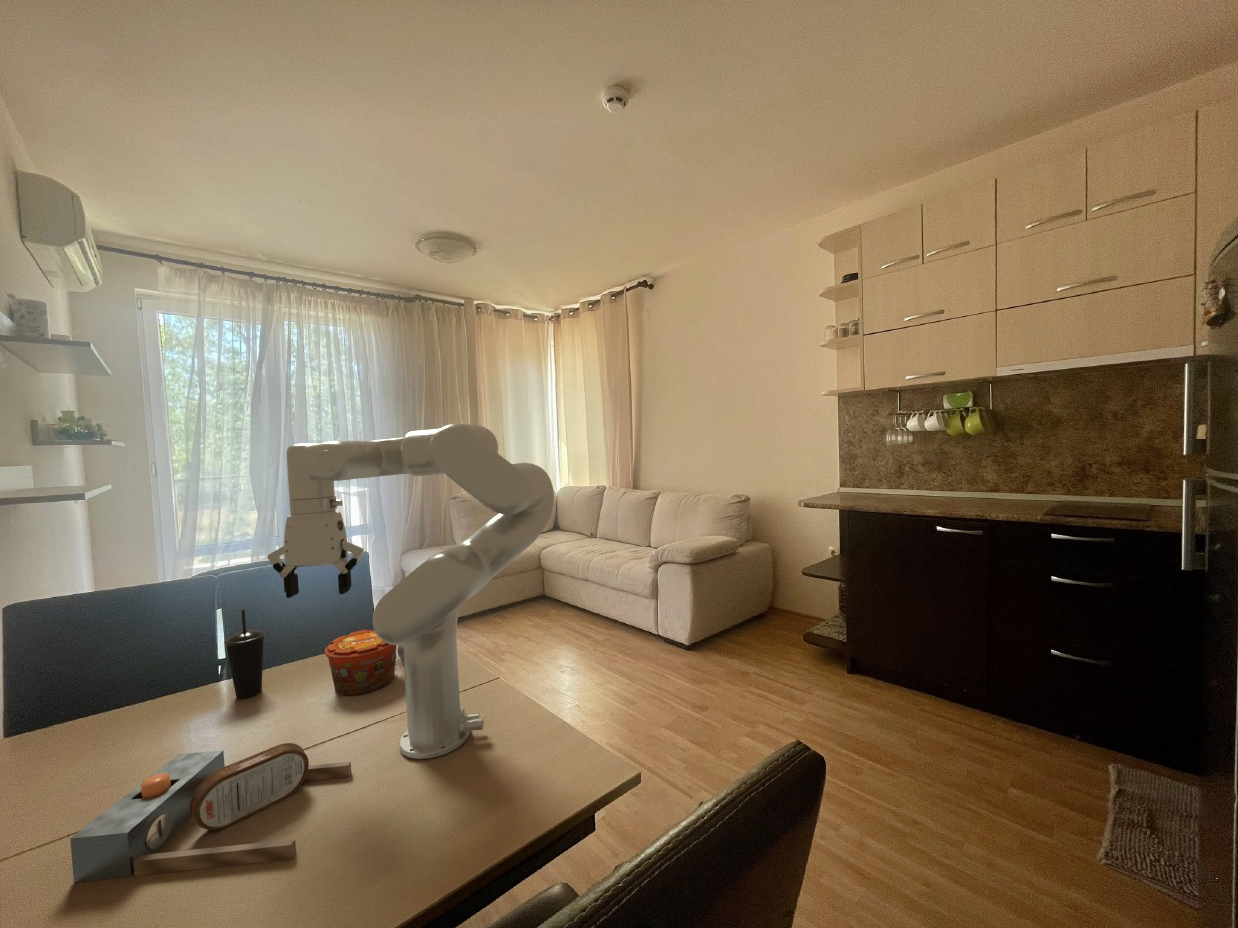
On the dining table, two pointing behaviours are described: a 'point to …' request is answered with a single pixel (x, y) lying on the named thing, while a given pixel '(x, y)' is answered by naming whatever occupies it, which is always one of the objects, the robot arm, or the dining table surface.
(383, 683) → the food container
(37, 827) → the dining table surface
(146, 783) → the button
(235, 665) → the drinking cup
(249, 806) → the tin
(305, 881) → the dining table surface
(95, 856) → the cabinet
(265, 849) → the rail channel
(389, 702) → the dining table surface
